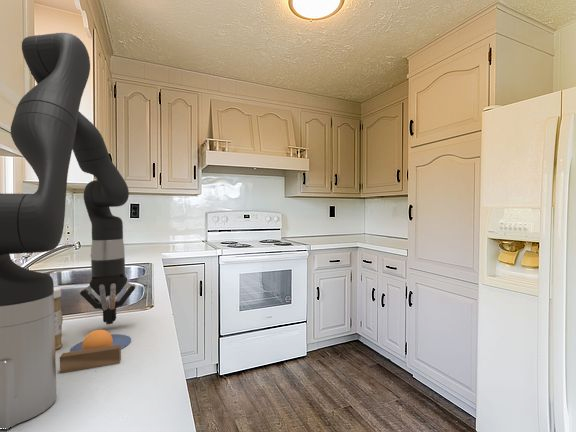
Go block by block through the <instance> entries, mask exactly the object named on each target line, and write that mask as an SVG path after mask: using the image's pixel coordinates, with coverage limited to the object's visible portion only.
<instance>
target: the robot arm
mask: <svg viewBox="0 0 576 432" xmlns="http://www.w3.org/2000/svg"><path fill="white" fill-rule="evenodd" d="M21 51H22V55H23V59H24V60H25V63H26V65H27V68H28V70H29V71H30V73H31V76H33V79H34V81H35V82H36V85H35V86H33V87H32V88H31V89H30V90H29V91H27V93H25V94H24V95H23V96H22V98H20V101H19V102H18V104H17V106H16V108H15V111H14V115H13V118H12V121H11V125H10V136H11V138H12V139H11V140H12V142H13V143H14V146H16V148H17V150H18V151H19V152H20V154H21V155H22V157H23V158H24V159H25V160H26V162H27V163H28V164H29V165H30V167H31V168H32V170H33V172H34V173H35V175H36V177H37V179H38V187H37V189H36V191H35V192H33V193H1V192H0V428H2V429H3V428H4V429H5V428H6V429H7V430H9V429H8V428H10V427H11V428H12V427H14V426H16V425H17V424H18V425H19V424H20V423H23V422H25V421H28V420H30V419H33V418H34V417H37V416H38V415H40V414H42V413H43V412H45V411H47V410H48V409H49V408H50V407H51V406H53V405H54V403H55V402H56V400H57V373H56V371H57V370H56V366H57V365H56V350H55V326H54V293H53V292H54V287H55V285H54V279H53V277H52V276H51V275H49V274H46V273H43V272H40V271H34V270H31V269H28V268H24V267H22V266H20V265H18V264H17V263H15V261H14V260H12V258H11V255H15V254H17V255H18V254H34V253H36V254H37V253H45V252H52V251H53V250H56V248H58V246H59V244H60V242H61V239H62V237H63V232H64V227H65V225H64V224H65V218H66V202H67V201H66V200H67V185H68V177H69V176H68V175H69V168H70V163H71V157H72V153H73V154H74V156H75V159H76V162H77V163H78V166H79V168H80V169H81V171H82V172H84V173H85V174H90V175H92V176H93V177H95V179H94V180H91V181H90V182H88V183H87V184H86V186H85V188H84V191H83V201H84V204H85V205H84V206H85V208H86V212H87V214H88V217H89V218H88V219H89V221H90V223H91V248H90V261H91V262H90V263H91V264H90V265H91V268H90V269H91V279H90V281H89V283H88V284H89V285H88V286H86V287H85V288H83V289H82V290H81V291H80V292H79V294H80V296H81V297H83V298H84V299H85V300H86V301H87V302H88V304H90V305H91V306H92V307H93V308H94V309H96V310H97V309H98V310H99V309H100V310H102V322H103V323H105V325H113V324H114V322H115V321H116V319H117V308H119V307H122V306H123V305H124V304H125V302H126V301H127V300H128V299H129V297H130V296H131V294H133V292H134V291H135V289H136V287H137V286H136V284H135V283H130V282H129V281H128V278H127V276H126V266H125V265H126V264H125V263H126V260H125V257H126V255H125V244H124V231H123V230H124V227H123V226H124V223H123V220H122V218H121V217H119V216H116V215H114V214H112V211H111V208H114V207H115V208H116V207H117V208H119V207H121V206H124V205H125V204H126V203H127V202H128V200H129V195H130V192H129V191H130V190H129V187H128V184H127V182H126V180H125V179H124V178H123V175H121V173H120V171H119V170H118V168H117V166H116V165H115V164H114V163H113V162H112V159H111V157H110V154H109V151H108V149H107V146H106V143H105V139H104V137H103V135H102V134H101V132H100V131H99V130H98V128H97V127H96V125H94V123H92V122H91V121H90V120H89V119H88V118H87V117H86V116H85V115H84V114H83V113H82V112H80V107H81V106H80V105H81V100H82V97H83V94H84V91H85V88H86V85H87V83H88V81H89V78H90V72H91V60H90V55H89V52H88V49H87V47H86V45H85V43H83V41H82V40H81V38H79V37H78V36H77V35H74V34H72V33H69V32H54V33H48V34H47V33H45V34H37V35H30V36H27V37H24V38H23V39H22V41H21ZM124 287H125V288H124ZM123 289H124V291H125V292H124V294H123V295H122V297H121V298H119V300H118V295H119V294H120V293H121V292H122V290H123ZM93 292H95V293H96V294H97V296H98V297H100V299H98V298H97V297H96V295H94V294H93ZM11 428H10V429H11Z"/></svg>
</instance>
